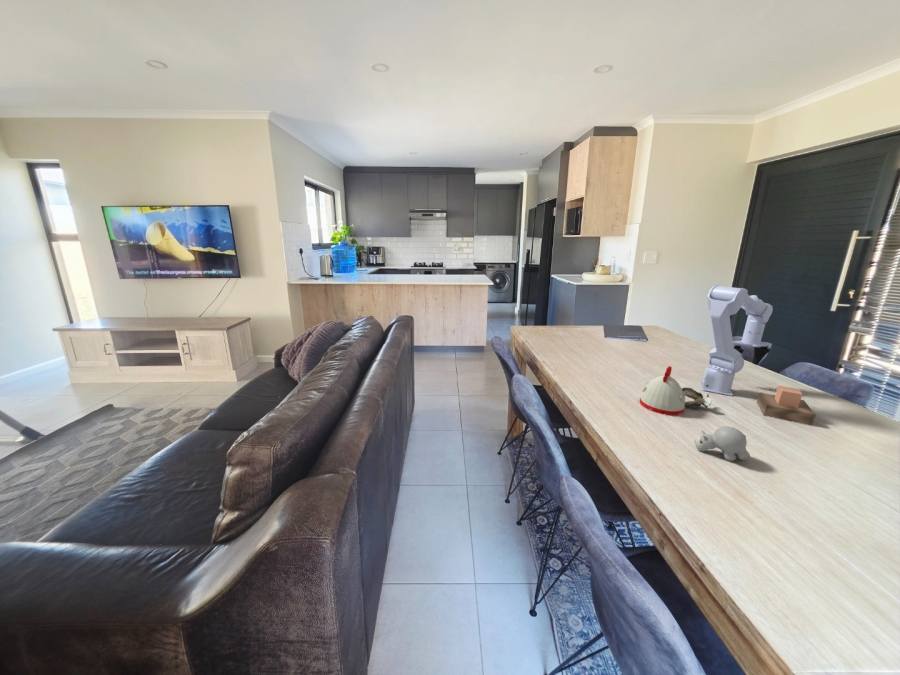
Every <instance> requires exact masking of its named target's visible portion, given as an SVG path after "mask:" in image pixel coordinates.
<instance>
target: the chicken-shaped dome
mask: <svg viewBox="0 0 900 675" xmlns="http://www.w3.org/2000/svg"><path fill="white" fill-rule="evenodd" d="M672 371H673V369H672V366H671V365H669V366H667V368H666V370H665V372H664V374H663V375H658V376H656V377H654V378H653V379H651V380H650V381H648V382H646V384H644V387H643V389H642V392H641V395H640V397H639V398H640V399H639V404H640V405H641V406H642V407H643V408H644V409H646V410H648V411H650V412H653V413H657V414H659V415H664V414H665V416H679V415H682V414H683V413H684V412H685V408H686V407H685V402H686V396H685V391H682V387H681V386H680V383H679V382H678V381H677V380H676V379H675V378H673V377H672V376H671V374H672Z"/></svg>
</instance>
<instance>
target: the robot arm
mask: <svg viewBox="0 0 900 675" xmlns="http://www.w3.org/2000/svg"><path fill="white" fill-rule="evenodd" d="M748 292H749V291H748V289H746V288H744V287H741V288H740V287H732V286H724V285H719V284H718V285H717V284H715V285H713V286H712V287H711V288H710V289H709V291H708V294H707V295H706V299H707V305H708V306H707V307H708V309H709V311H710V318H711V324H712V332H713V339H714V343H715V347H713V348H712V349H711V350H710V351H709V352H708V356H709V357H708V364H709V365H710V367H708V366H707V367H705V368H704V372H703V378H702V380H701V388H702V391H705V392H709V393H714V394H715V393H716V394H720V395H726V396H730V397H731V396H734V395H733V391H732V386H733V383H734V380H735V375H736V373H739V372H740V371H741V370H742V369H743V368H744V366H745V360H744V358H743V355H742V354H743V353H744V350H745V349H743V348H753V356H752V361H751V362H752V364H754V365H755V366H758V365H759V363H760V362H761V361H762V359H763V358H764V357H765V356H766V355H767V354H769V353H770V352H771V350H770V349H772V345H773V343H771V342H765V341H762V338H763V335H764V331H765V327H766V324H767V323H768V321H769V320H770V317H771V315H772V313H773V311H774V310H773V309H774V308H773V305H771V303H766V302H764V301H763V300H762V299H760V298H758V297H759V296H758V295H757V294H755V295H753V294H752V295H749V294H748ZM740 309H743V310H744V311H745V315H746V316H747V319H746V322H745V327H744V330H743V334H742V338H741V340H733V333H732V326H731V325H732V324H731V317H730V316H733V315H736V314H737V313H738V311H739V310H740Z"/></svg>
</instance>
